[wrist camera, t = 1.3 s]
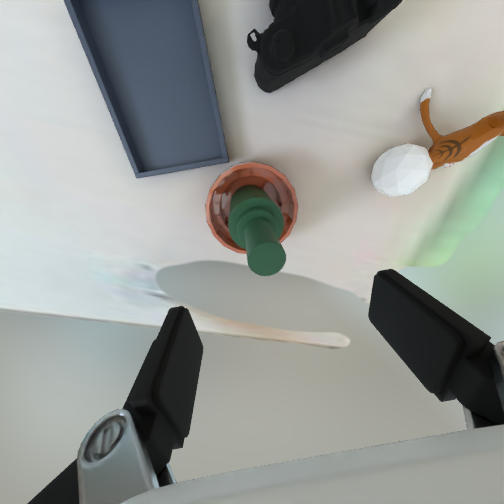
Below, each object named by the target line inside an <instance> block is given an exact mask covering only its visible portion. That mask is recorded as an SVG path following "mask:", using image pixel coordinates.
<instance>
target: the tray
mask: <svg viewBox="0 0 504 504" xmlns="http://www.w3.org/2000/svg"><path fill="white" fill-rule="evenodd" d="M64 2H65V5H66V7H67V9H68V12H69V14H70V17H71V19H72V22H73V24H74V27H75V29H76V31H77V34H78V36H79V39H80V41H81V44H82V46H83V49H84V51H85V53H86V56H87V58H88V61H89V63H90V66H91V68H92V71H93V73H94V75H95V78H96V80H97V83H98V85H99V88H100V90H101V93H102V95H103V97H104V100H105V102H106V105H107V107H108V110H109V112H110V115H111V117H112V119H113V122H114V124H115V127H116V129H117V132H118V134H119V137H120V139H121V141H122V144H123V146H124V149H125V151H126V154H127V156H128V158H129V161H130V163H131V166H132V168H133V171H134V173H135V176H136V178H143V177H148V176H154V175H160V174H165V173H171V172H176V171H182V170H188V169H193V168H199V167H205V166H210V165H216V164H221V163H227V162H229V159H228V154H227V148H226V143H225V138H224V133H223V128H222V123H221V117H220V112H219V107H218V102H217V97H216V91H215V86H214V81H213V76H212V71H211V66H210V60H209V55H208V50H207V45H206V40H205V34H204V29H203V24H202V19H201V14H200V9H199V3H198V0H64Z"/></svg>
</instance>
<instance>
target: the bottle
mask: <svg viewBox="0 0 504 504" xmlns="http://www.w3.org/2000/svg"><path fill="white" fill-rule="evenodd" d="M228 228H229V233H230V235H231V238H232V239H233V241H234V242H235V243H236V244H237V245H238V246H240V247H242V248H243V249H246V252H247V260H248V265H249V267H250V269H251V270H252V271H253V272H254V273H256V274H258V275H261V276H270V275H273V274H275V273H277V272H279V271H280V270H281V269H282V268H283V266H284V264H285V261H286V254H285V251H284V249H283V247H282V245H281V243H280V242H279V240H278V239H279V238H280V236H281V234H282V232H283V228H284V219H283V215H282V213H281V211H280V209H279V208H278V206H277V205H276V204H275V203H274V202H273V201H272V199H271V198H270V197H269V196H268V195H267V194H266V192H265V191H264V190H263V189H262V188H260V187H258V186H256V185H244V186H242V187H240V188H238V189H237V190H236V191H235V192H234V194H233V195H232V198H231V202H230V212H229V222H228Z"/></svg>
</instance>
